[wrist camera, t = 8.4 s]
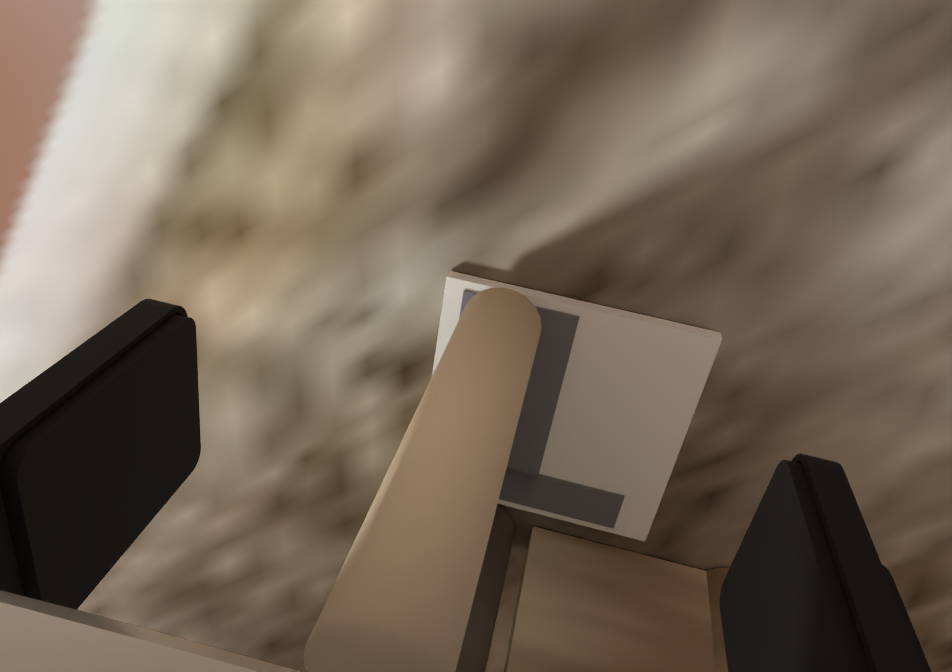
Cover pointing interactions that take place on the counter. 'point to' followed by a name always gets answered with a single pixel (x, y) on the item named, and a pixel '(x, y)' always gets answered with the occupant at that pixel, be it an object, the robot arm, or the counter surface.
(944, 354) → the counter surface
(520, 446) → the card
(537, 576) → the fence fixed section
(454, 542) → the fence swing section
